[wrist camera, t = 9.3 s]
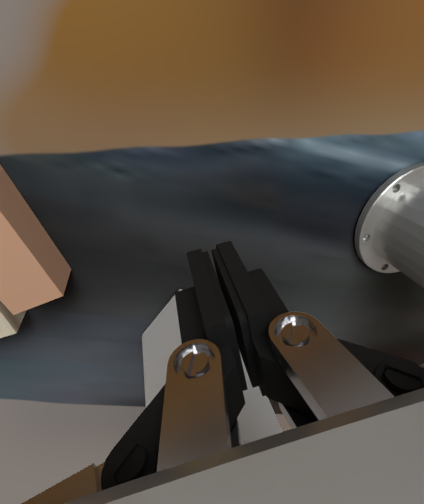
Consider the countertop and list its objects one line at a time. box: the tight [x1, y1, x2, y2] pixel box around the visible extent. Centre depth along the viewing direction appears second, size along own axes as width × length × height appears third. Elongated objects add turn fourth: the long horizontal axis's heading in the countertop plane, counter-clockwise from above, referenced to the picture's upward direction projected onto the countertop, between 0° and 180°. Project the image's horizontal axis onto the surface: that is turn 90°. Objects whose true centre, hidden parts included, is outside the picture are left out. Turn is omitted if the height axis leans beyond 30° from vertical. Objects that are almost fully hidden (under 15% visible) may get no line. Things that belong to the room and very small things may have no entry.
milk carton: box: [142, 289, 283, 445], centre depth 25 cm, size 7×7×19 cm
